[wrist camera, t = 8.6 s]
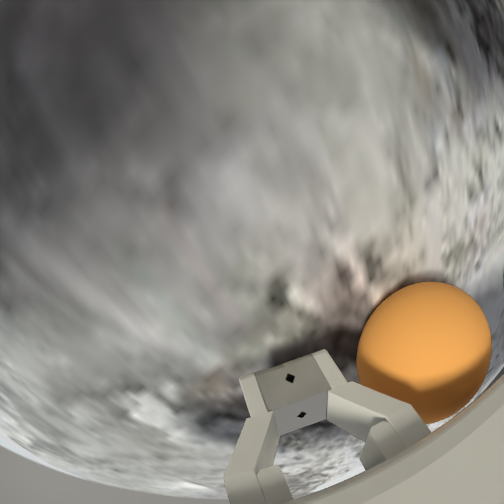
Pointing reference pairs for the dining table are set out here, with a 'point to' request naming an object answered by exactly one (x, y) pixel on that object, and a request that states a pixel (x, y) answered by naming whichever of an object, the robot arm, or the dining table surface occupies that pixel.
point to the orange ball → (426, 349)
